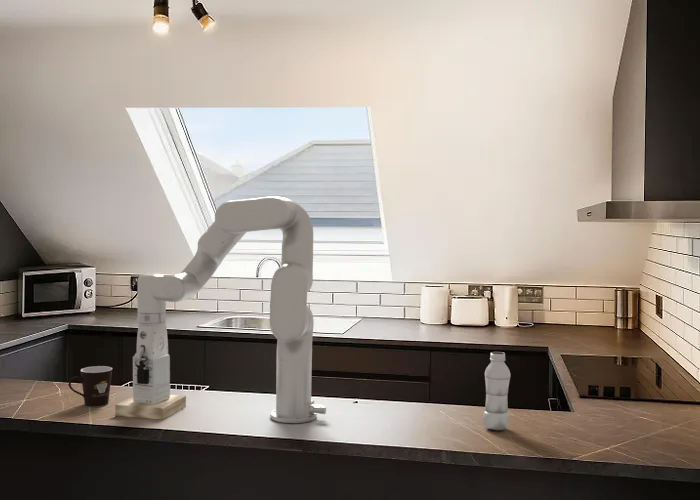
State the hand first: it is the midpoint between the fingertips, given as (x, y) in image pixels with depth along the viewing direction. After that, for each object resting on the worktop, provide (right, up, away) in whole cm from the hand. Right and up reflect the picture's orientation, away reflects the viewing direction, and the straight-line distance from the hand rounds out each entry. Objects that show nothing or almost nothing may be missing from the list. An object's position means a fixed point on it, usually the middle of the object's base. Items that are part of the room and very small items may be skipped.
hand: (151, 379), depth 197 cm
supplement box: (0, -6, 0) cm, 6 cm away
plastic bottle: (+93, -11, -12) cm, 95 cm away
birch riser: (0, -9, 0) cm, 9 cm away
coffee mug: (-19, -8, +7) cm, 22 cm away
